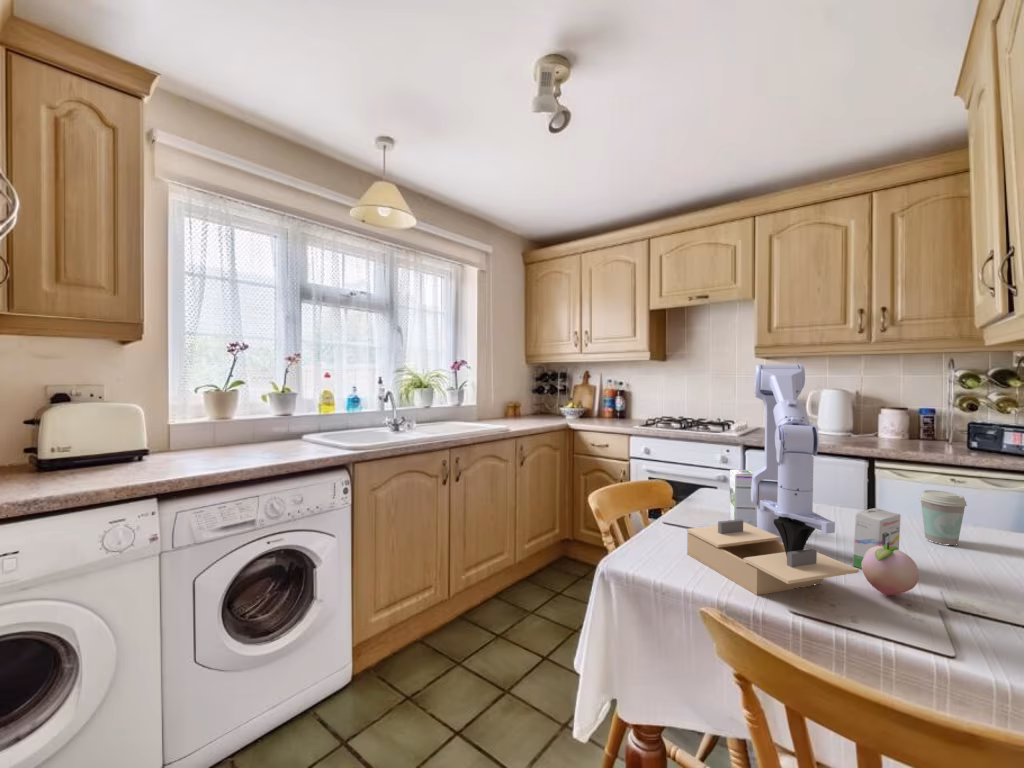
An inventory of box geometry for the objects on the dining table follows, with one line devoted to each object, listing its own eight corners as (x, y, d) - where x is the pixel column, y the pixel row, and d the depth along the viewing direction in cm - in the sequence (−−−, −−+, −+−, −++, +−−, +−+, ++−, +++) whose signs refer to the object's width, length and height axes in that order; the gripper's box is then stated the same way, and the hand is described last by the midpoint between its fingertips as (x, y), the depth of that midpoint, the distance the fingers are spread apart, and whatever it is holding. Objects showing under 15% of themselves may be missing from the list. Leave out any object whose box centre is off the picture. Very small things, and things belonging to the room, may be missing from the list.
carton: (743, 546, 109) (743, 526, 109) (821, 584, 90) (822, 559, 89) (687, 554, 104) (687, 532, 104) (756, 595, 85) (757, 569, 85)
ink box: (872, 558, 102) (873, 506, 102) (900, 567, 98) (901, 513, 97) (851, 566, 98) (852, 512, 98) (879, 575, 94) (881, 519, 93)
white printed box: (757, 527, 122) (758, 474, 122) (734, 525, 124) (734, 473, 123) (750, 520, 128) (751, 469, 128) (728, 519, 129) (729, 468, 129)
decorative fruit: (917, 613, 79) (919, 556, 79) (858, 597, 85) (860, 544, 84) (918, 594, 86) (920, 541, 86) (864, 580, 91) (865, 531, 91)
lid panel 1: (744, 524, 109) (744, 512, 109) (780, 539, 99) (780, 525, 99) (686, 531, 104) (686, 518, 104) (718, 547, 94) (718, 533, 94)
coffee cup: (927, 545, 110) (929, 496, 110) (912, 533, 118) (913, 488, 118) (973, 550, 107) (975, 500, 106) (954, 538, 115) (955, 491, 114)
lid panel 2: (808, 551, 92) (808, 536, 92) (858, 572, 83) (858, 555, 83) (743, 560, 88) (743, 545, 88) (788, 584, 78) (788, 566, 78)
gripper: (748, 480, 92) (747, 546, 92) (813, 499, 78) (812, 577, 78) (775, 477, 94) (774, 542, 94) (844, 496, 80) (842, 572, 80)
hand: (793, 558), depth 87 cm, fingers closed
